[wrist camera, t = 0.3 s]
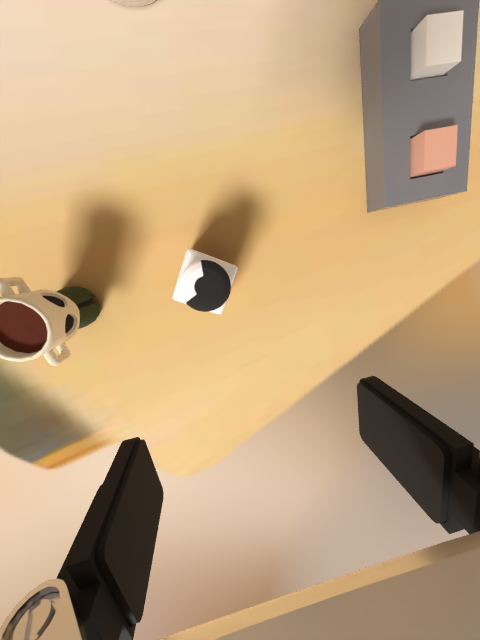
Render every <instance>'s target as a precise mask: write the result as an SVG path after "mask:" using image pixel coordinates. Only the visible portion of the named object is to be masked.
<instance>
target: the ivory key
mask: <svg viewBox="0 0 480 640" xmlns="http://www.w3.org/2000/svg"><path fill="white" fill-rule="evenodd" d="M463 13H464V10H462V11H454V12H446V13H439V14H431V15H427V16H426V17H425V18H424V19H423V20H422V21H421V22H420V23H419V24H418V25H417V27H416V28H415V29H414V30H413V31H412V32H411V81H415V80H421V79H427V78H434V77H440V76H442V75H444V74H445V73H446V72H448V71H449V70H450V69H451V68H453V67H454V66H455V65H457V64H458V63H459V62H460V61H461V52H462V32H463Z"/></svg>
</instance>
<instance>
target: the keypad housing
mask: <svg viewBox="0 0 480 640" xmlns="http://www.w3.org/2000/svg"><path fill="white" fill-rule="evenodd" d="M478 8H479V0H379V1H378V2H377V4H376V5H375V7H374V8H373V10H372V11H371V13H370V14H369V16H368V17H367V19H366V20H365V22H364V23H363V25H362V26H361V28H360V29H359V33H360V56H361V78H362V101H363V123H364V146H365V168H366V191H367V213H368V212H373V211H378V210H383V209H388V208H392V207H397V206H402V205H407V204H412V203H417V202H422V201H427V200H431V199H436V198H441V197H445V196H449V195H453V194H457V193H460V192H464V191H467V180H468V165H469V149H470V133H471V118H472V102H473V86H474V71H475V55H476V40H477V24H478ZM462 10H464V13H463V32H462V52H461V61H460V62H459V63H458V64H457V65H455V66H454V67H453V68H451V69H450V70H449V71H448V72H446V73H445V74H444V75H442V76H440V77H434V78H427V79H421V80H415V81H411V32H412V31H413V30H414V29H415V28H416V27H417V25H418V24H419V23H420V22H421V21H422V20H423V19H424V18H425V17H426V16H427V15H431V14H439V13H446V12H454V11H462ZM454 125H458V131H457V151H456V166H454V167H451V168H448V169H446V170H443V171H440V172H438V173H434V174H429V175H424V176H420V177H419V178H414V179H410V139H411V138H413V137H415V136H417V135H418V134H420V133H422V132H423V131H425V130H431V129H437V128H442V127H448V126H454Z"/></svg>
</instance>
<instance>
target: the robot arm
mask: <svg viewBox="0 0 480 640" xmlns="http://www.w3.org/2000/svg"><path fill="white" fill-rule="evenodd" d="M111 1H113V2H116V3H118V4H121V5H125V6H130V7H139V6H145V5H148V4H151V3H153V2H154V1H156V0H111ZM357 396H358V413H359V431H360V436H361V438H362V440H363V441H364V442H365V444H366V445H367V446H368V447H369V448H370V449H371V450H372V452H373V453H374V454H375V455H376V456H377V457H378V459H379V460H380V461H381V462H382V463H383V464H384V465H385V467H386V468H387V469H388V470H389V471H390V472H391V473H392V475H393V476H394V477H395V478H396V479H397V480H398V481H399V483H400V484H401V485H402V486H403V487H404V488H405V489H406V491H407V492H408V493H409V494H410V495H411V496H412V498H413V499H414V500H415V501H416V502H417V503H418V504H419V506H420V507H421V508H422V509H423V510H424V511H425V512H426V514H427V515H428V516H429V517H430V518H431V519H432V520H433V521H434V522H435V523H440V524H441V525H442V526H443V528H444V529H445V530H446V531H447V532H448V533H449V534H451V533H454V532H457V531H460V530H463V529H465V530H466V531H467V532H468V533H469V535H466V536H463V537H460V538H456V539H453V540H450V541H446V542H443V543H440V544H437V545H434V546H431V547H428V548H425V549H422V550H419V551H416V552H413V553H410V554H407V555H404V556H401V557H398V558H395V559H392V560H388V561H385V562H382V563H379V564H376V565H373V566H371V567H368V568H365V569H361V570H358V571H355V572H352V573H350V574H347V575H344V576H341V577H338V578H335V579H332V580H329V581H326V582H323V583H320V584H317V585H314V586H311V587H308V588H305V589H302V590H299V591H296V592H293V593H290V594H287V595H285V596H282V597H279V598H276V599H273V600H270V601H267V602H264V603H261V604H258V605H255V606H252V607H250V608H247V609H244V610H241V611H238V612H235V613H232V614H229V615H226V616H224V617H221V618H218V619H215V620H212V621H209V622H206V623H203V624H201V625H198V626H195V627H192V628H189V629H186V630H184V631H180V632H178V633H175V634H173V635H170V636H167V637H164V638H162V639H159V640H480V451H479V450H478V449H477V448H475V447H474V446H473V445H474V444H473V443H472V442H470V441H469V440H467V439H466V438H465V437H463V436H462V435H460V434H459V433H457V432H456V431H454V430H453V429H451V428H450V427H449V426H447V425H446V424H444V423H443V422H441V421H440V420H438V419H437V418H435V417H434V416H432V415H431V414H430V413H428V412H427V411H425V410H424V409H422V408H421V407H419V406H418V405H416V404H415V403H413V402H412V401H411V400H409V399H408V398H406V397H405V396H403V395H402V394H400V393H399V392H397V391H396V390H395V389H393V388H391V387H390V386H389V385H387V384H385V383H384V382H383V381H381V380H380V379H378V378H377V377H375V376H371V377H367V378H363V379H361V380H360V383H358V384H357ZM162 502H163V488H162V485H161V483H160V480H159V478H158V475H157V472H156V469H155V467H154V464H153V461H152V458H151V456H150V453H149V450H148V448H147V445H146V442H145V440H140V438H139V437H136V438H132V439H128V440H124V441H123V442H122V443H121V445H120V447H119V450H118V452H117V454H116V456H115V458H114V461H113V463H112V465H111V467H110V470H109V472H108V474H107V476H106V478H105V480H104V482H103V484H102V485H101V486H100V487H99V489H98V491H97V493H96V495H95V497H94V499H93V502H92V504H91V506H90V508H89V510H88V512H87V514H86V516H85V519H84V521H83V523H82V525H81V527H80V529H79V531H78V533H77V536H76V538H75V540H74V542H73V544H72V547H71V548H70V551H69V553H68V555H67V557H66V560H65V561H64V564H63V566H62V568H61V570H60V572H59V574H58V576H57V578H56V579H52V580H48V581H46V582H44V583H42V584H40V585H39V586H38V587H36V588H35V589H34V590H32V591H31V592H29V593H28V594H27V595H26V596H25V597H24V598H23V599H22V600H21V601H20V602H19V603H18V604H17V605H16V607H15V608H14V609H13V611H12V612H11V613H10V614H9V616H8V617H7V618H6V620H5V622H4V623H3V625H2V627H1V628H0V640H133V637H134V631H135V626H136V623H138V622H140V620H141V618H142V615H143V610H144V604H145V599H146V592H147V587H148V582H149V576H150V570H151V565H152V559H153V553H154V548H155V542H156V536H157V531H158V525H159V519H160V514H161V508H162Z"/></svg>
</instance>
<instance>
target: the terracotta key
mask: <svg viewBox="0 0 480 640" xmlns="http://www.w3.org/2000/svg"><path fill="white" fill-rule="evenodd" d="M457 131H458V125H454V126H448V127H442V128H437V129H431V130H425V131H423V132H422V133H420V134H418V135H417V136H415V137H413V138H411V139H410V178H414V177H419V176H424V175H429V174H434V173H438V172H440V171H443V170H446V169H448V168H451V167H454V166H456V151H457Z"/></svg>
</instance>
